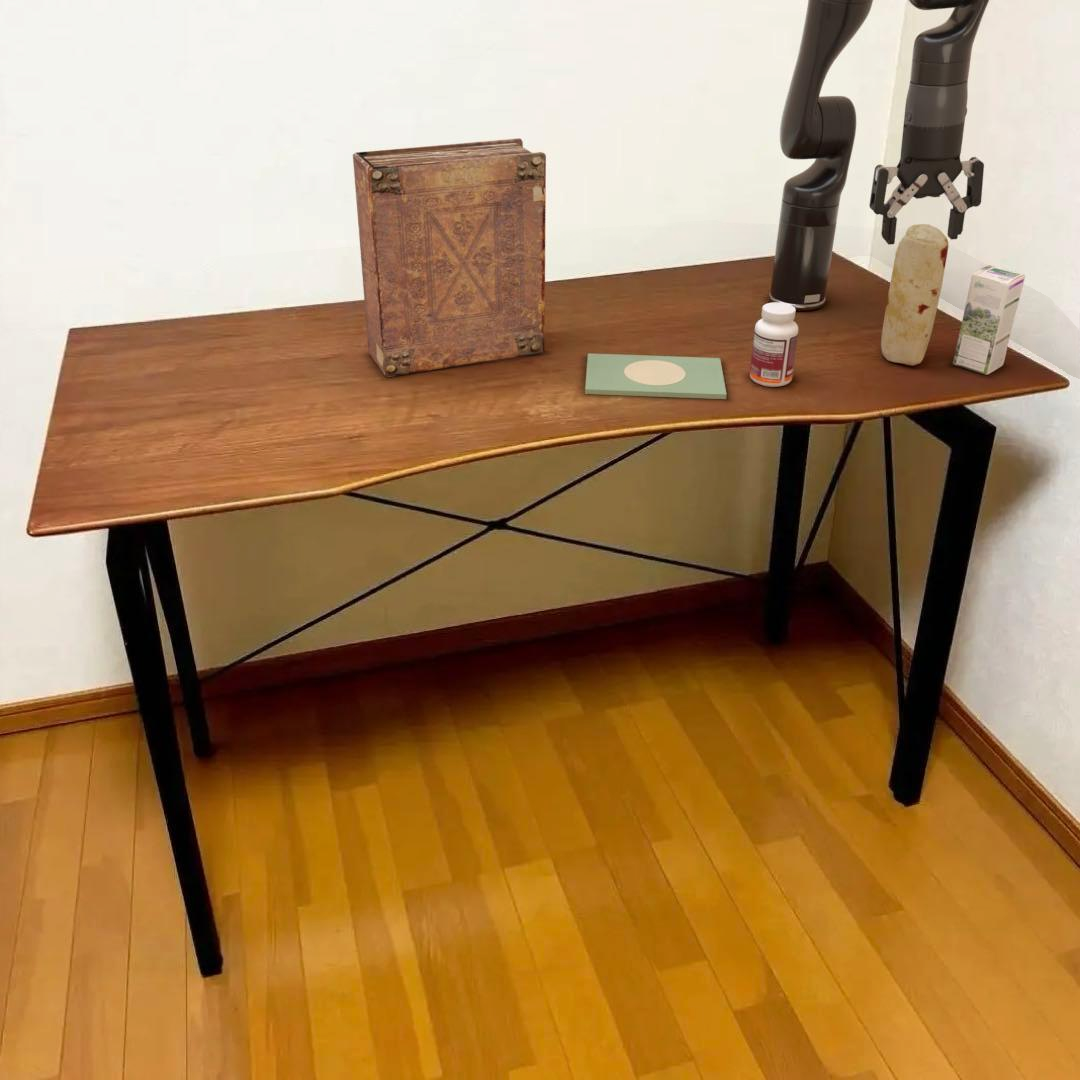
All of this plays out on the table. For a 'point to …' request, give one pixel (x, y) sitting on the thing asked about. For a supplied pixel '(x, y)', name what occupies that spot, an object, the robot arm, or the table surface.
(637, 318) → the table surface
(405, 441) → the table surface
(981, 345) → the syrup box
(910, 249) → the food model
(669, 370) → the mat
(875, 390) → the table surface
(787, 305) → the pill bottle
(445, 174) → the book
